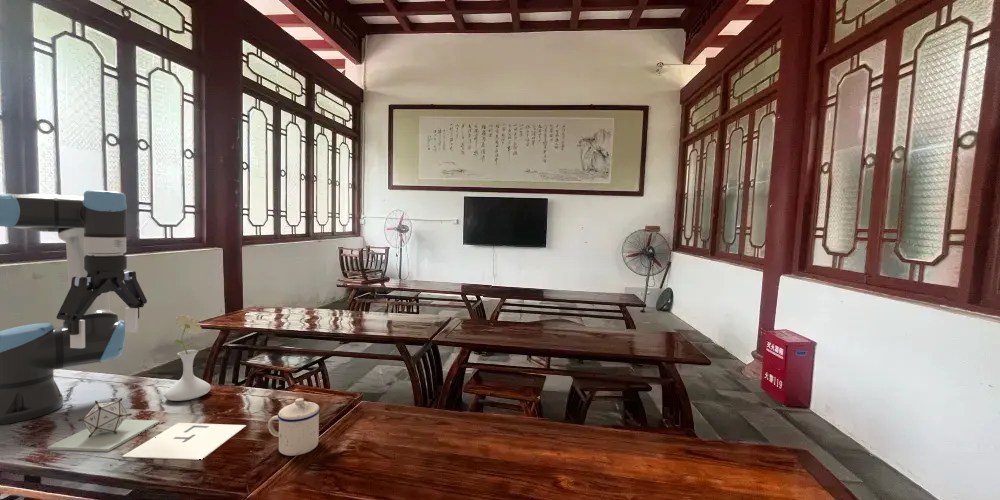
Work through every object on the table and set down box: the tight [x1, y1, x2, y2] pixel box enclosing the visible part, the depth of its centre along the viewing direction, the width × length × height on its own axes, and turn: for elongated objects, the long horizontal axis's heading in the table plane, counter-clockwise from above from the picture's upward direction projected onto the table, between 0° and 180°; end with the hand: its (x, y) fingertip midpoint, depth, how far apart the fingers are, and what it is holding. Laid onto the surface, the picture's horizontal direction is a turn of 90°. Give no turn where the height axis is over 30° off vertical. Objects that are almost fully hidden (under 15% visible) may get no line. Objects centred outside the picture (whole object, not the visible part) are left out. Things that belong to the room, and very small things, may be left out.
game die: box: [77, 397, 133, 437], centre depth 100 cm, size 9×8×10 cm
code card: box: [121, 422, 247, 461], centre depth 99 cm, size 18×16×1 cm
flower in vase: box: [163, 313, 212, 402], centre depth 124 cm, size 13×11×25 cm
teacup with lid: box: [267, 397, 321, 457], centre depth 98 cm, size 12×9×12 cm
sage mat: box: [47, 418, 161, 453], centre depth 100 cm, size 14×14×1 cm
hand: (106, 339), depth 101 cm, fingers open, 13 cm apart
